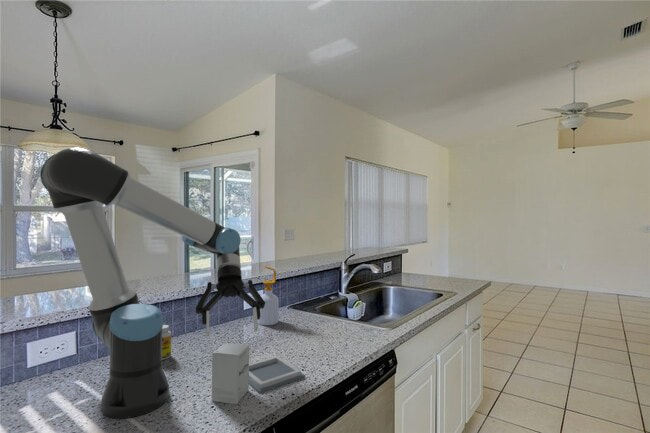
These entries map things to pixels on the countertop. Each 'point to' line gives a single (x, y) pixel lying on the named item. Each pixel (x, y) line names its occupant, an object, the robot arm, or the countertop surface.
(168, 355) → the supplement bottle
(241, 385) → the supplement box
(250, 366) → the slate base tray
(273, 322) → the soap bottle
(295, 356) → the countertop surface
